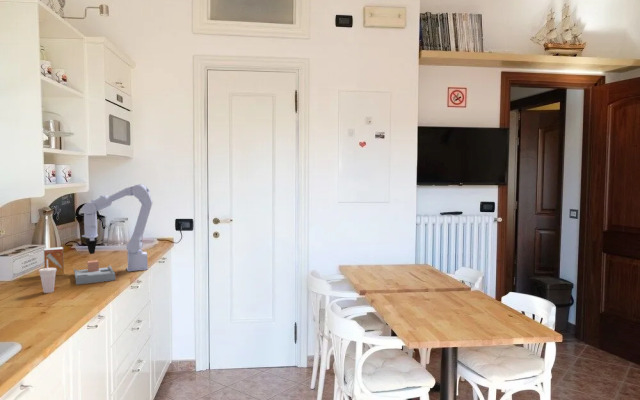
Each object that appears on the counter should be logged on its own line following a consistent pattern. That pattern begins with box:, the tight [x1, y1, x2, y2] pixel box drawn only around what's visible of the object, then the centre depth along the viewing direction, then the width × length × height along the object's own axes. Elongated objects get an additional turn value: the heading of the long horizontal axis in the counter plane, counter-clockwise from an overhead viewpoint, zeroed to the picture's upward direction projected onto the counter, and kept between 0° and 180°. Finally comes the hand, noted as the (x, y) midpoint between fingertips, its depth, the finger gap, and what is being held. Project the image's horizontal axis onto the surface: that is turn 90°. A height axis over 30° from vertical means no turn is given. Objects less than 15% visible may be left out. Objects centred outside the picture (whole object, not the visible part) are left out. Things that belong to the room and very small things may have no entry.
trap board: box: [73, 265, 116, 285], centre depth 211 cm, size 16×22×3 cm
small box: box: [43, 246, 65, 277], centre depth 216 cm, size 8×6×13 cm
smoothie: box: [38, 259, 57, 294], centre depth 186 cm, size 6×6×14 cm
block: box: [87, 259, 100, 272], centre depth 217 cm, size 4×4×4 cm
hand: (91, 253), depth 223 cm, fingers open, 3 cm apart
